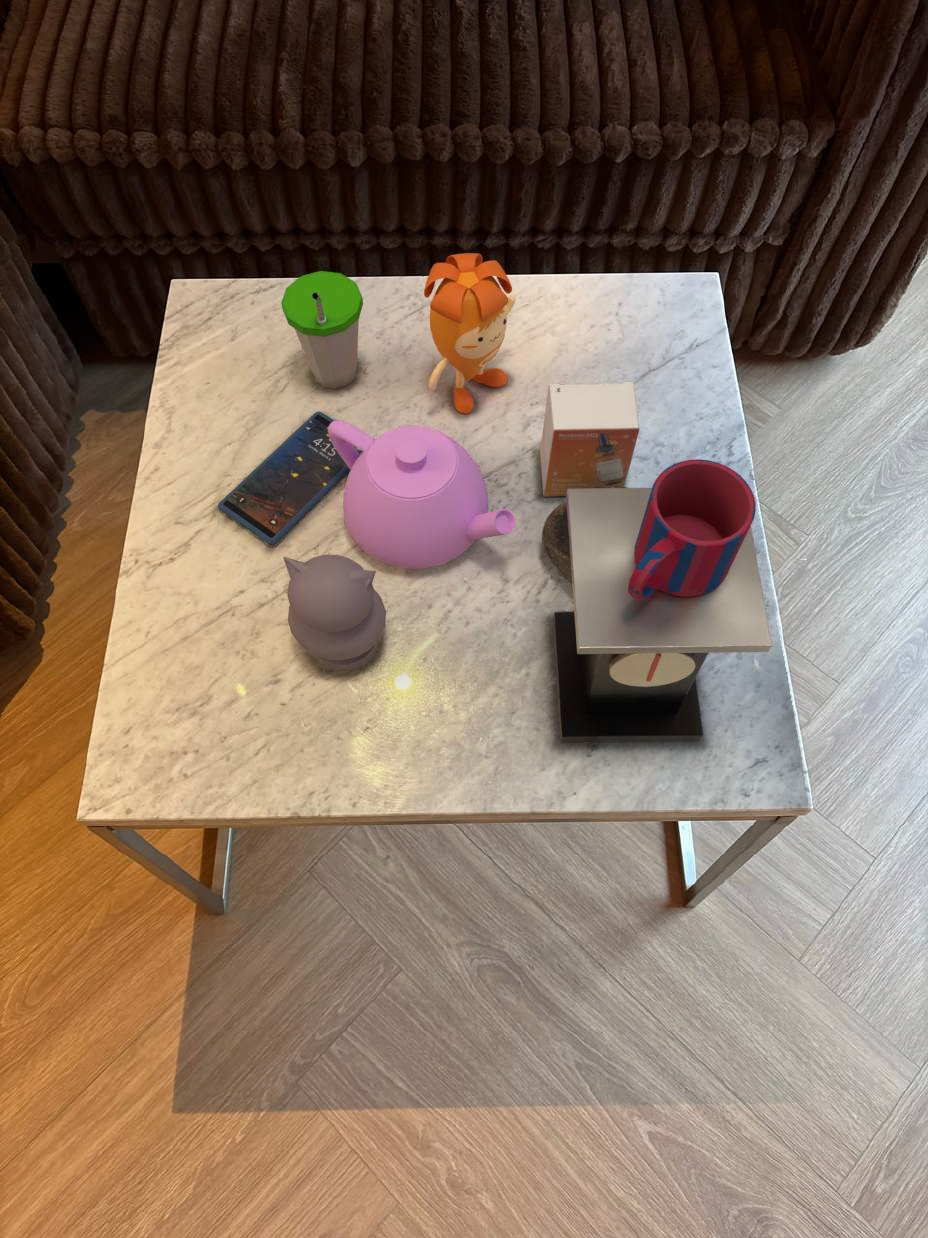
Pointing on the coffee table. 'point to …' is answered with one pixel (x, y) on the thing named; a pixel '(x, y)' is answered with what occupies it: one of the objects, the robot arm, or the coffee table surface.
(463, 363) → the toy figure
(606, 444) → the small box
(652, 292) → the coffee table surface
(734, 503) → the cup
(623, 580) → the scale
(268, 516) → the smartphone
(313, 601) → the cat figurine
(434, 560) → the teapot
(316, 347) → the cup
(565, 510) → the stone
